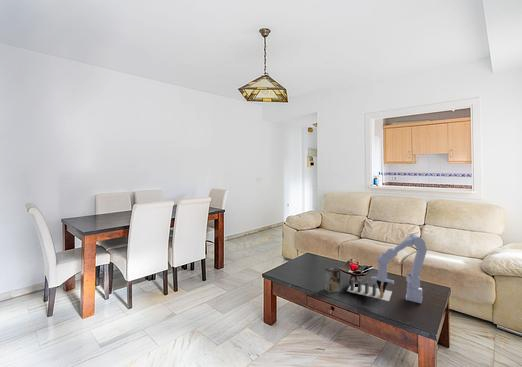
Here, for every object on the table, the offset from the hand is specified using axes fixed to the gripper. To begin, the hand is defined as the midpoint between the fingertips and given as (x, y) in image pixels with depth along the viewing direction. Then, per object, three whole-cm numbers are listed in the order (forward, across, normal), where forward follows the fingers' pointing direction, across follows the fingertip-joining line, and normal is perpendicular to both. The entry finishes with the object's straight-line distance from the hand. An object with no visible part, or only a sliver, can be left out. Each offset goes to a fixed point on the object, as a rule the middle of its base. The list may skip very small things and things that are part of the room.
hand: (382, 291), depth 189 cm
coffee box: (+4, +32, +9) cm, 33 cm away
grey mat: (+4, +9, -3) cm, 10 cm away
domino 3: (+3, +10, 0) cm, 10 cm away
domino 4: (+3, +5, 0) cm, 6 cm away
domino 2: (+3, +15, 0) cm, 15 cm away
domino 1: (+3, +20, 0) cm, 20 cm away
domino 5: (+3, 0, 0) cm, 3 cm away
